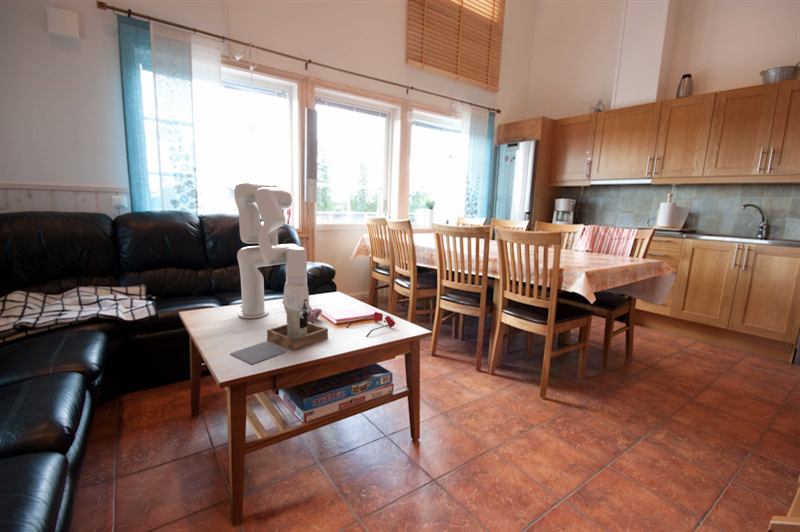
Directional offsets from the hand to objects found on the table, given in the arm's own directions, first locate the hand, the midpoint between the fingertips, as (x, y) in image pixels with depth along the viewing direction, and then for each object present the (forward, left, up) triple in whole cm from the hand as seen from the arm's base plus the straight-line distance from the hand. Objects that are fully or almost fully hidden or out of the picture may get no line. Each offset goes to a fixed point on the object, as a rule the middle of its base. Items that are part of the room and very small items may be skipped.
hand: (297, 324), depth 139 cm
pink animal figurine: (-11, +17, -6) cm, 22 cm away
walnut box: (+1, 0, -6) cm, 6 cm away
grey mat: (+1, -17, -6) cm, 18 cm away
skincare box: (0, 0, -5) cm, 5 cm away
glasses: (+14, +28, -6) cm, 32 cm away
